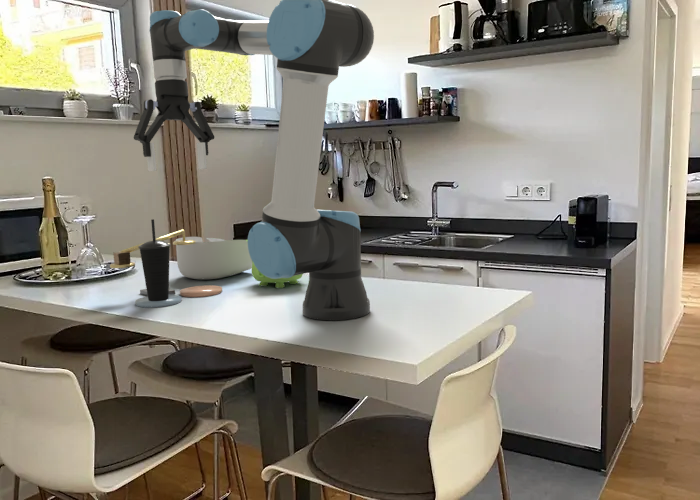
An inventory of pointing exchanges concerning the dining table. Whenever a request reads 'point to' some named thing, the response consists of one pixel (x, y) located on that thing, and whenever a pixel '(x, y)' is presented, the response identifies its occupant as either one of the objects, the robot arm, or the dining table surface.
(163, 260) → the drinking cup
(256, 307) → the dining table surface
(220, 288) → the orange disc
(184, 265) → the bowl
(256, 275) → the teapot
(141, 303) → the dish low side
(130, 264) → the balance
